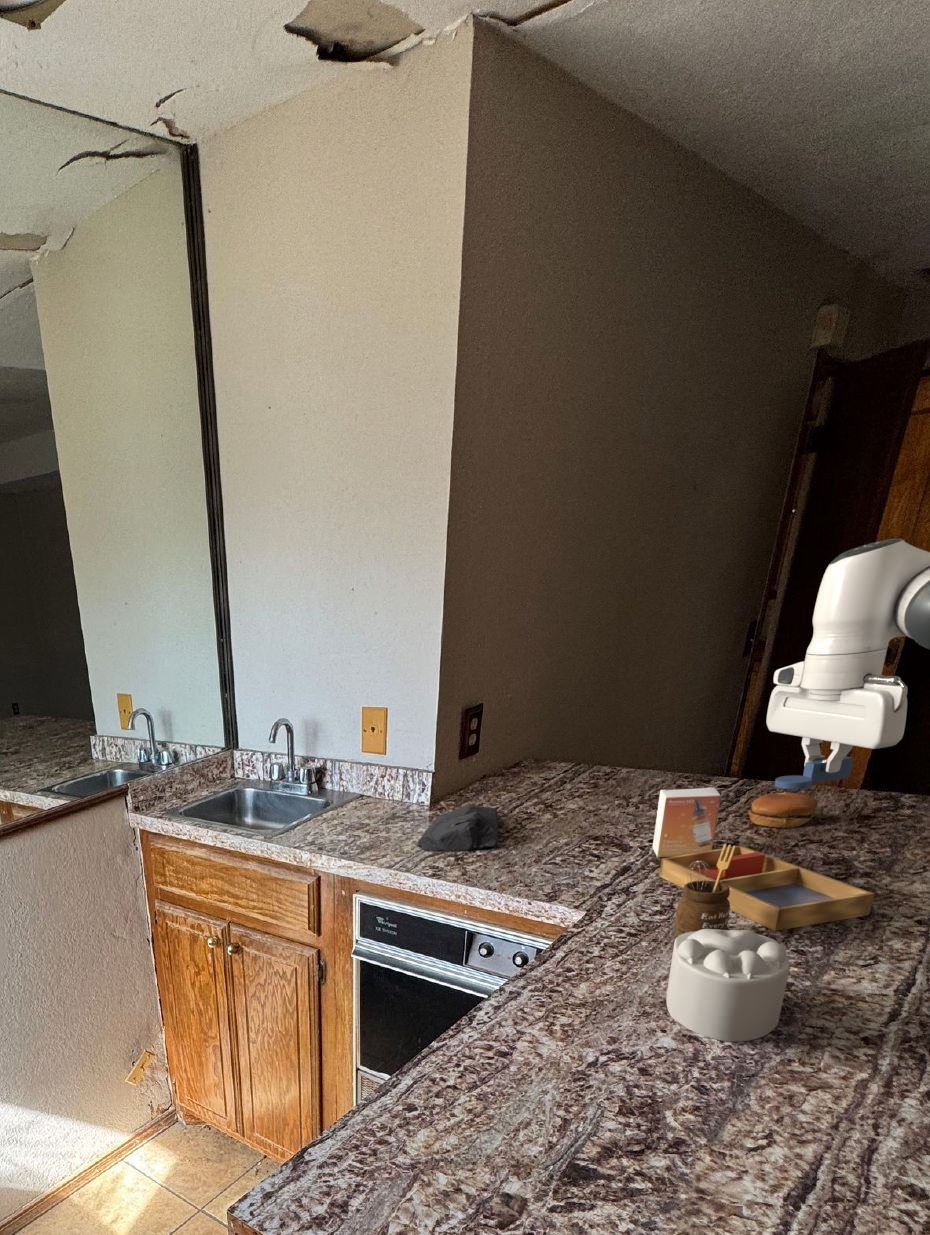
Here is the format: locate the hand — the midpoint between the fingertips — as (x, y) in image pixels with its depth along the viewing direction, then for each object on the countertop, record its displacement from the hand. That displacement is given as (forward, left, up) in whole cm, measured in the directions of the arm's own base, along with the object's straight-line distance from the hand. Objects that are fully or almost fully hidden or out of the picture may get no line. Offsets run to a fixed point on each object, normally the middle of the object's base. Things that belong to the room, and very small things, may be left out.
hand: (821, 769), depth 116 cm
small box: (+11, -12, -15) cm, 22 cm away
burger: (-12, -19, -15) cm, 27 cm away
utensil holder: (+29, +18, -15) cm, 37 cm away
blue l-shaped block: (+1, 0, -2) cm, 2 cm away
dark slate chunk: (+37, -41, -15) cm, 57 cm away
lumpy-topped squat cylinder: (+40, +37, -15) cm, 57 cm away
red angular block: (+14, +3, -14) cm, 20 cm away
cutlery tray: (+14, +8, -15) cm, 22 cm away
